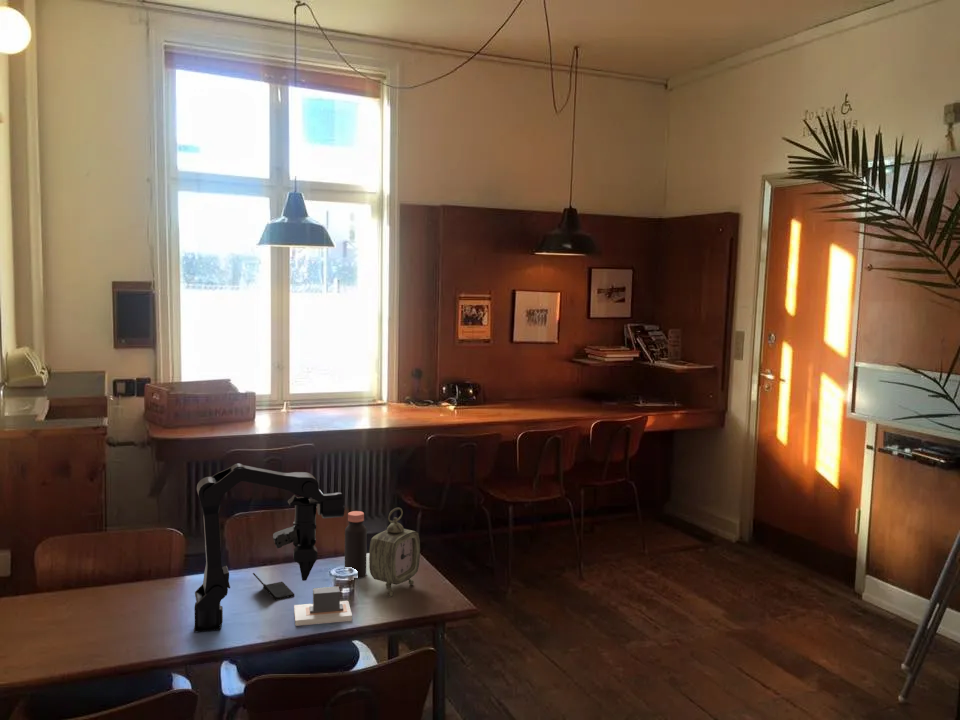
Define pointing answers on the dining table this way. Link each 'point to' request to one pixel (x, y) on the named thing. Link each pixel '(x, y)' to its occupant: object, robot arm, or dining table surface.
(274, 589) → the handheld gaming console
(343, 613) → the header board
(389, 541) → the tabletop clock
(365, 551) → the bottle
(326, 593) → the connector housing
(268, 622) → the dining table surface
